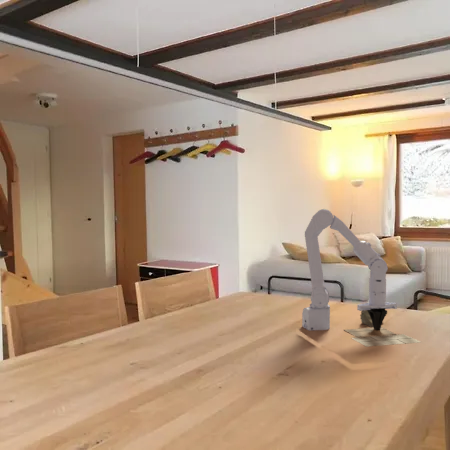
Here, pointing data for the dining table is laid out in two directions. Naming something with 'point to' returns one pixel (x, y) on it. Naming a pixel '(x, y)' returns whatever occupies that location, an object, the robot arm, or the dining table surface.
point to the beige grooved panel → (385, 340)
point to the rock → (366, 318)
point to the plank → (369, 332)
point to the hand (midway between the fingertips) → (376, 329)
